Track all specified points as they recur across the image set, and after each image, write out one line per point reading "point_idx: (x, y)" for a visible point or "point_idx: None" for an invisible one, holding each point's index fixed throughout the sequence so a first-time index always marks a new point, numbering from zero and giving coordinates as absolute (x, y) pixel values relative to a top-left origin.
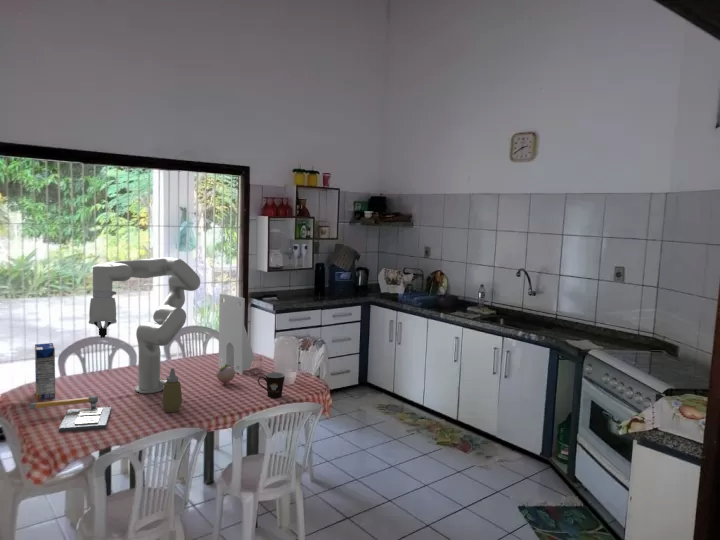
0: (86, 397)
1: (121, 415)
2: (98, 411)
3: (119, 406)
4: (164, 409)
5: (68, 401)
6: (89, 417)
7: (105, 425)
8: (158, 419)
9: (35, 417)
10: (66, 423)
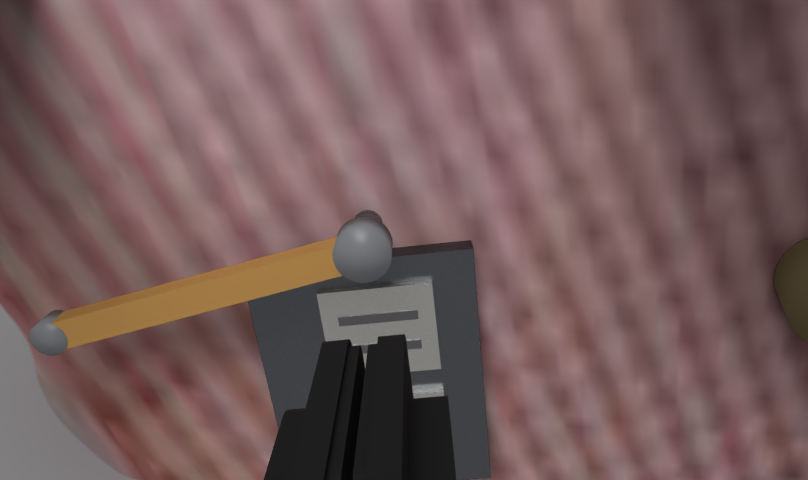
0: (319, 253)
1: (538, 319)
2: (421, 335)
3: (508, 178)
4: (776, 291)
5: (231, 304)
6: None
7: (488, 475)
8: (728, 386)
9: None
10: None
